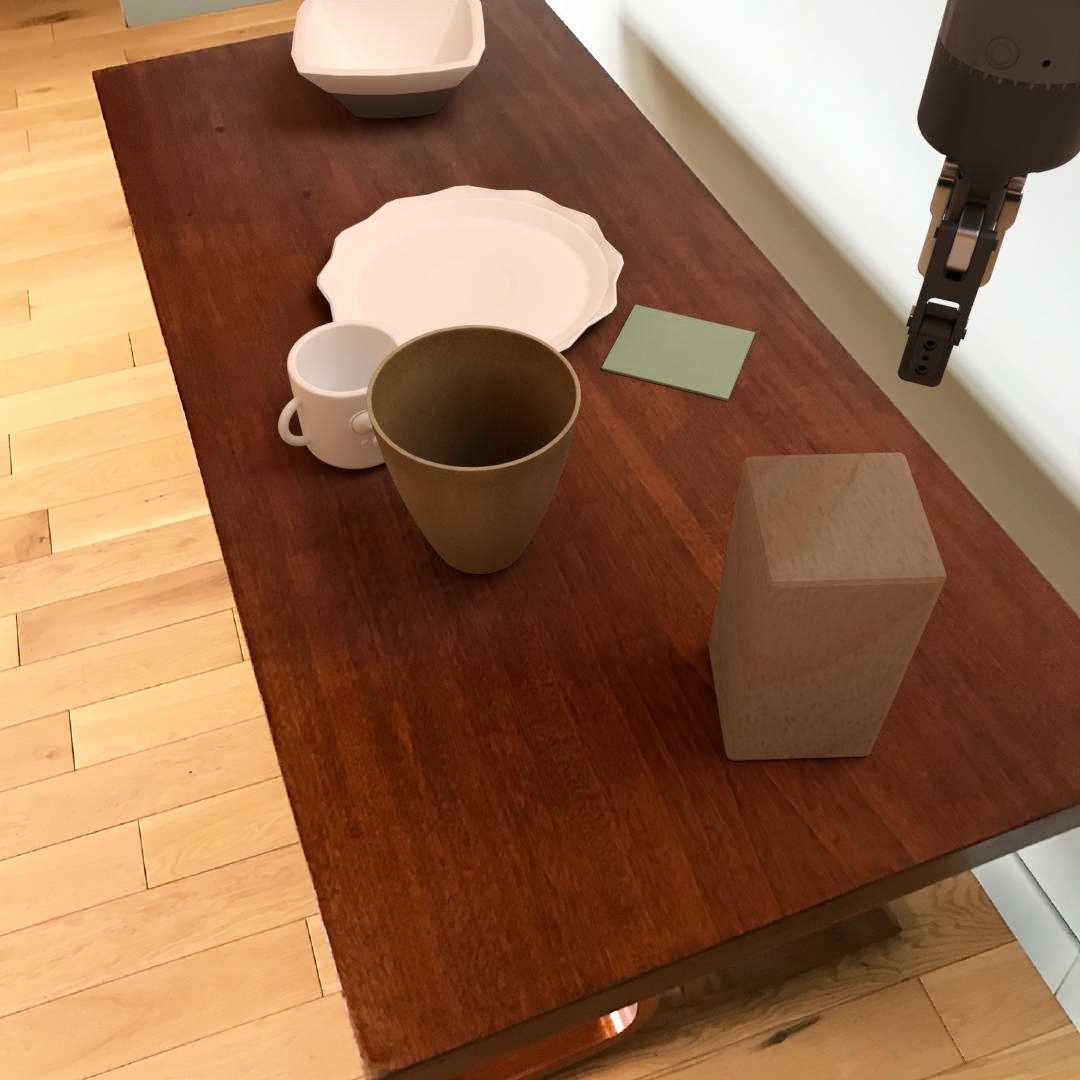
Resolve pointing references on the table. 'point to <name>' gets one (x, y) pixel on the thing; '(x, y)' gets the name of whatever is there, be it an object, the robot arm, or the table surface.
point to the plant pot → (475, 437)
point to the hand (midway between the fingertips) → (932, 331)
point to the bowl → (388, 52)
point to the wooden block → (820, 603)
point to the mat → (679, 352)
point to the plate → (474, 266)
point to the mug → (336, 391)
